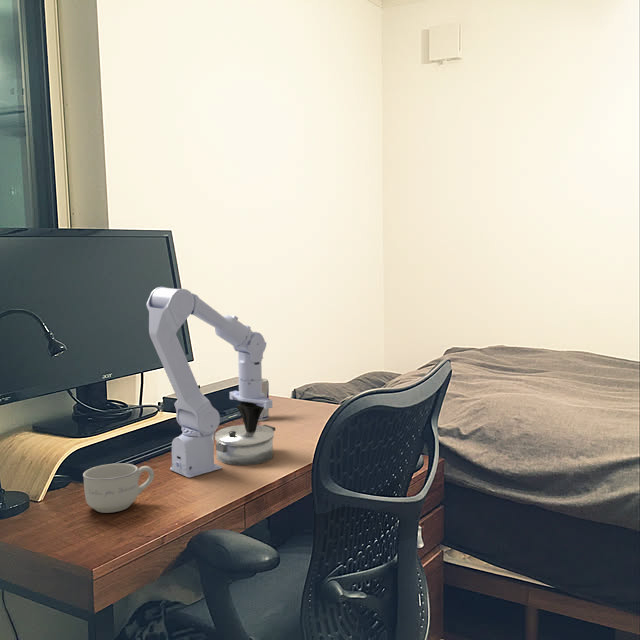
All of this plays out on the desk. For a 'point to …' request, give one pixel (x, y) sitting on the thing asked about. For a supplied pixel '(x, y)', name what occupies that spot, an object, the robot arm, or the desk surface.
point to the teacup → (114, 486)
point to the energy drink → (265, 390)
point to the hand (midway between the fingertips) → (251, 431)
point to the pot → (245, 453)
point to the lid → (244, 435)
